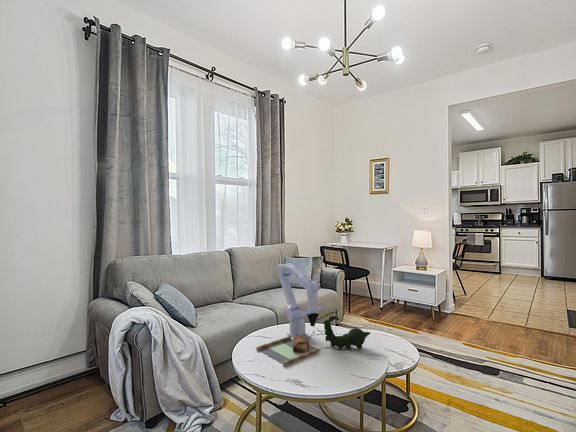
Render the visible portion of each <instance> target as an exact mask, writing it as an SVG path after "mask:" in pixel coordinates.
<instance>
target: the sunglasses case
mask: <svg viewBox="0 0 576 432" xmlns="http://www.w3.org/2000/svg"><path fill="white" fill-rule="evenodd" d="M293 339H294V344H293V352H294V353H307V352H308V344H309V340H310V339H308V338H306V337H303V335H302V336H300V335H298V334H296V335H295V338H294V337H293Z"/></svg>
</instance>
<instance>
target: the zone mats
mask: <svg viewBox="0 0 576 432" xmlns="http://www.w3.org/2000/svg"><path fill="white" fill-rule="evenodd" d="M293 344H294V338H291V340H288V341H285V342H282V343H279V344H277V345H274V346H271V347H268V348H265V349H262V350H259V351H258V352H260V353H262V354H264V355H266V356H268V357H269V358H271V359H273V360H275V361H277V362H278V363H279V364H281V365H283V362H284V361H287V360H289V359H292V358H294V357H297V356H299V355H302V354H305V353H294V352H293ZM317 348H318V347H315V346H313V345H311V344H309V343H308V352H310V351H312V350H315V349H317ZM318 349H319V348H318ZM321 351H322V350H321V348H320V349H319V352H321Z"/></svg>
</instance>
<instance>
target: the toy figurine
mask: <svg viewBox="0 0 576 432" xmlns="http://www.w3.org/2000/svg"><path fill="white" fill-rule="evenodd" d="M335 320H337V321H339V320H340V318H339V317H338V316H335V315H331V316H329V318H328V319H326V320H324V321H323V325H324V326H323V329H324V335H325V338H324V339H325V342H328V341H329V342H330V347H331V348H335V346H336V347H337V348H338V350H342V349H343V348H344V347H345V349H346V350H351V346H355V347H356V348H357V349H358V350H361V349H362V348H363V345H364V343H365V342H366V338H367V337H368V336H369V335H371V332H368V331H363V330H362V329H361V328H358V327H353V328H351V329H349V331H348V333H344V334H342V335H336V334H335V333H334V331H333V329H332V327H333V326H332V325H331V322H333V321H335Z"/></svg>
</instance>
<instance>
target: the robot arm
mask: <svg viewBox="0 0 576 432" xmlns="http://www.w3.org/2000/svg"><path fill="white" fill-rule="evenodd" d="M276 272H277V275H278V279H279V282H280V284H281V288H282V291H283V293H284V297H285V299H286V302H287V308H286V309H285V311H286V318H287V320H288V321H289V332H287V333H286V335H287V336H291V338H292V337H293V339H294V338H295V335H296V334H298V335H300V336H302V337H303V336H305V335H307V333H306V322H305V320H304V317H307V318H308V320H309V325H310V327H315V325H316V321H317V319H318V317H319V312H321V313H322V312H323V307H318V291H320V284H319V282H318V281H317V280H313V279H312V278H310V277H309V276H308V275H307V274H302V273H301V272H300V271H299V270H298V269H297V268H296V266H295V264H294V263H292V262H289V263H283V264H282V263H280V264H278V265H277V269H276ZM291 276H293V277H295V278H296V279H298V283H299V284H300V285H301V286H303V287H304V288H305V292H306V295H307V309H306V310H304V309H303V308H302V306H301V304H299V303H297V301H296V297H295V294H294V290H293V289H292V285H291V282H290V280H289V279H290V277H291Z"/></svg>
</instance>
